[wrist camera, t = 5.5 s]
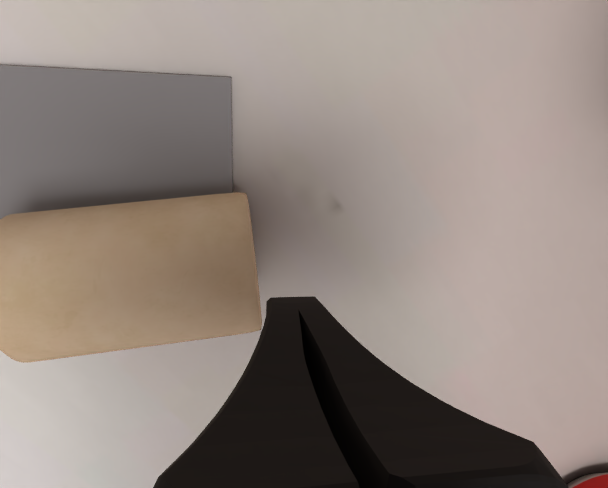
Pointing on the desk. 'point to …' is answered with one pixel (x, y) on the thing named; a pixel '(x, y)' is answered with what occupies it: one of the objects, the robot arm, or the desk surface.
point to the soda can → (590, 481)
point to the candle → (126, 276)
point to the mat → (110, 137)
